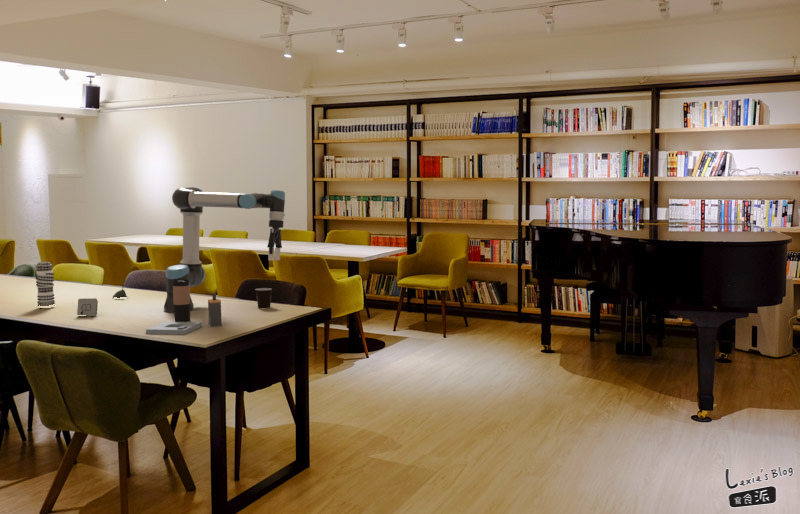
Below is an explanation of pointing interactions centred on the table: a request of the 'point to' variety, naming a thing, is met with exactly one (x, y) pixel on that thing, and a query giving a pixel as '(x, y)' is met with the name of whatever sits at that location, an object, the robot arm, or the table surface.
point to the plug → (214, 311)
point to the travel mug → (181, 300)
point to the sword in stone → (120, 293)
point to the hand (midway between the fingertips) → (274, 260)
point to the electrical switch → (87, 307)
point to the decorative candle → (45, 284)
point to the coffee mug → (263, 297)
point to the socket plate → (174, 328)
